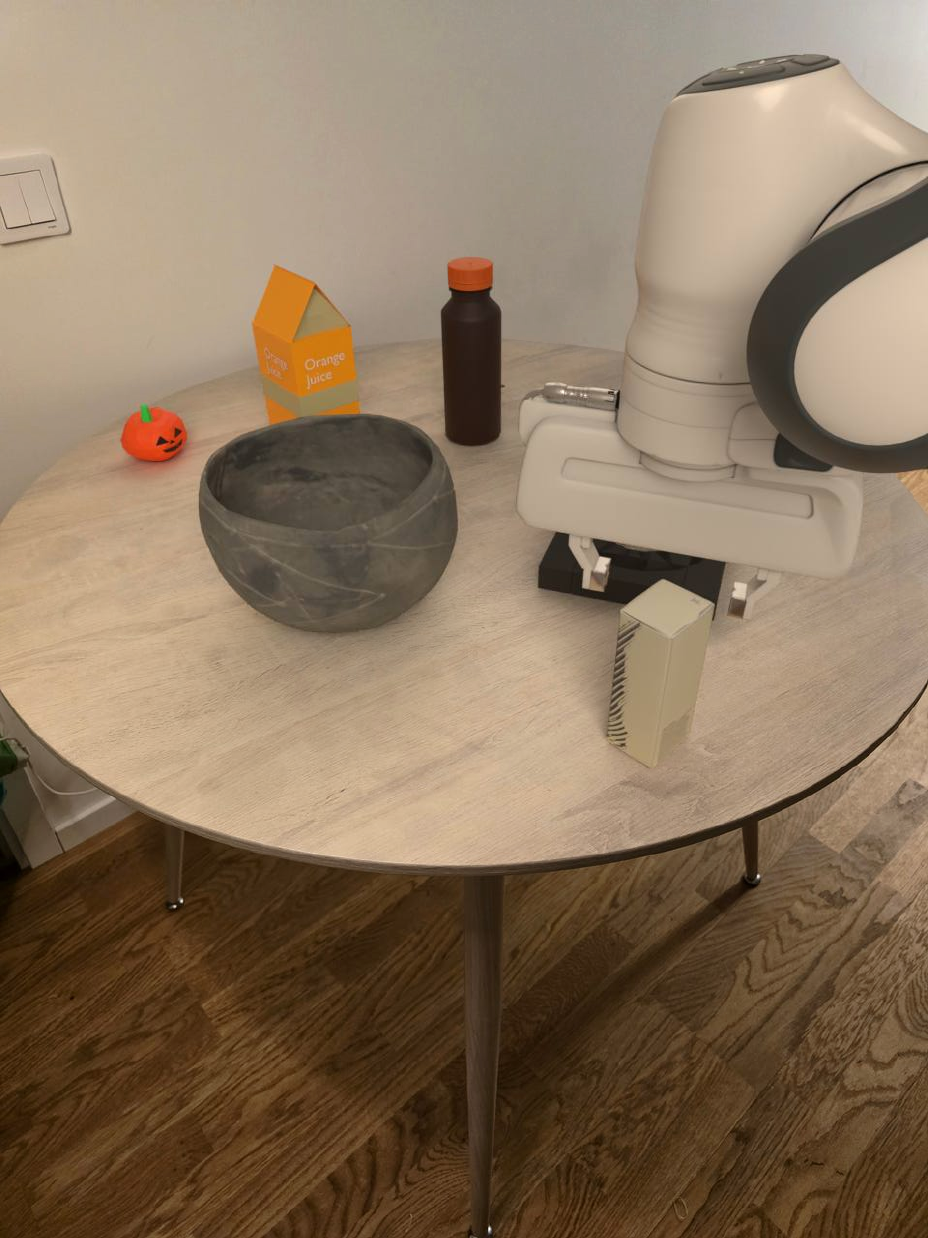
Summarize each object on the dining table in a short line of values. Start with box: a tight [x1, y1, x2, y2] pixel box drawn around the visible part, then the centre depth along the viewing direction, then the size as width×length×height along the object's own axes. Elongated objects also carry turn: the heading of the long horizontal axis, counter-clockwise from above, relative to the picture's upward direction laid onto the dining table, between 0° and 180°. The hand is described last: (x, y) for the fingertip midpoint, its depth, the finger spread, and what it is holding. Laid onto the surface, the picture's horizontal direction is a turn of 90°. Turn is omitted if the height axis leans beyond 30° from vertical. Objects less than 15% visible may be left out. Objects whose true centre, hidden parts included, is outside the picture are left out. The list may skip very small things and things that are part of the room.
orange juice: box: [251, 263, 361, 426], centre depth 98 cm, size 8×9×20 cm
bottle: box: [440, 256, 502, 447], centre depth 99 cm, size 7×7×20 cm
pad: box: [537, 531, 727, 622], centre depth 84 cm, size 16×18×2 cm
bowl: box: [198, 413, 459, 633], centre depth 74 cm, size 21×21×15 cm
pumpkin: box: [120, 403, 188, 462], centre depth 101 cm, size 7×8×6 cm
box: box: [605, 579, 715, 769], centre depth 61 cm, size 5×4×13 cm
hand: (665, 599), depth 57 cm, fingers open, 8 cm apart
